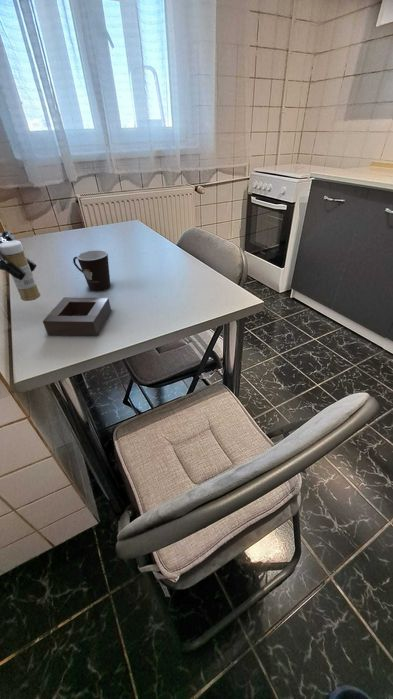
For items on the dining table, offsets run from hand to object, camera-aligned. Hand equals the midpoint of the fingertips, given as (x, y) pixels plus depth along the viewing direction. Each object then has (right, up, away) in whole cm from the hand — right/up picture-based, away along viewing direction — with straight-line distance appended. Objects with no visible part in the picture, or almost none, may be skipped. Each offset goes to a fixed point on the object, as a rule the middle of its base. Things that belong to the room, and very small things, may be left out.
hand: (29, 272), depth 69 cm
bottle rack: (+10, -11, +5) cm, 16 cm away
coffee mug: (+9, +2, +23) cm, 25 cm away
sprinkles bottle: (-2, -5, +4) cm, 7 cm away
